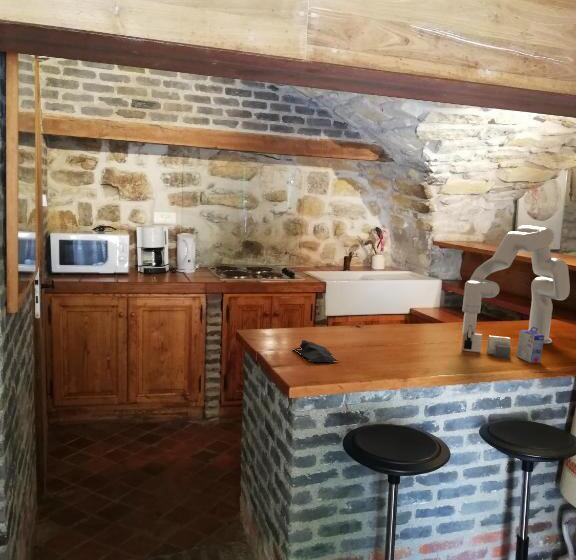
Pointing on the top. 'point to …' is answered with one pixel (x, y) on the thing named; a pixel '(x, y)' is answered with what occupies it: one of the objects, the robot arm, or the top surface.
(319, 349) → the dark fabric pouch
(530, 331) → the ink cartridge box
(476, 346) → the grey flat block
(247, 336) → the top surface
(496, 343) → the ticket holder
